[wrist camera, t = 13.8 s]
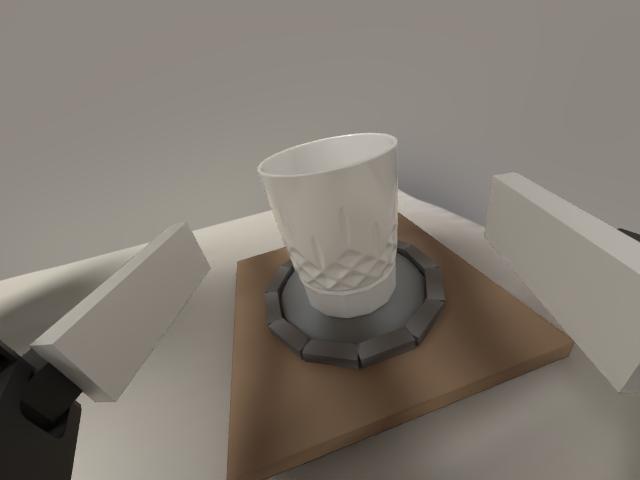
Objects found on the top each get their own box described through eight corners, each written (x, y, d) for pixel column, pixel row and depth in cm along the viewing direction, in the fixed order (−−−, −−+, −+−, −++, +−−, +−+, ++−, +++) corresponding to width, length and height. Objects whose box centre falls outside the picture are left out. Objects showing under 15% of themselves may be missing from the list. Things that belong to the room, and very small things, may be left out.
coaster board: (236, 490, 12) (219, 473, 11) (241, 270, 27) (234, 255, 26) (568, 355, 14) (579, 331, 13) (399, 222, 29) (398, 205, 28)
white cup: (278, 295, 20) (231, 170, 15) (344, 245, 25) (324, 134, 20) (358, 349, 15) (325, 183, 10) (425, 273, 19) (426, 130, 14)
